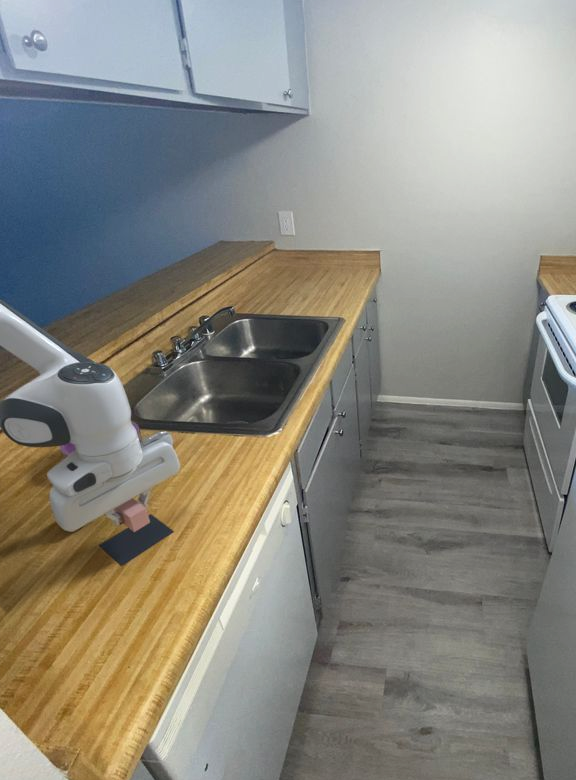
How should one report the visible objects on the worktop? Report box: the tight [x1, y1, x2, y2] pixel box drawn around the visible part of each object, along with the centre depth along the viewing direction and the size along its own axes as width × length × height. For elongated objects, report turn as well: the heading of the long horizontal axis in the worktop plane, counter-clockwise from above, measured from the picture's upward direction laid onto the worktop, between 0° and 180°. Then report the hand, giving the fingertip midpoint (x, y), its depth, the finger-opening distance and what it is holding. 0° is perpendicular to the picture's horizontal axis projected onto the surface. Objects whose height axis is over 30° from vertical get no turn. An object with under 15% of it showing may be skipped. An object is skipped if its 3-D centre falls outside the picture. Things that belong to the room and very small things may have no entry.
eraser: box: [113, 498, 150, 532], centre depth 85 cm, size 6×3×4 cm, turn 56°
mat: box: [98, 513, 175, 567], centre depth 88 cm, size 10×8×1 cm
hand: (131, 516), depth 85 cm, fingers closed on eraser, 3 cm apart
